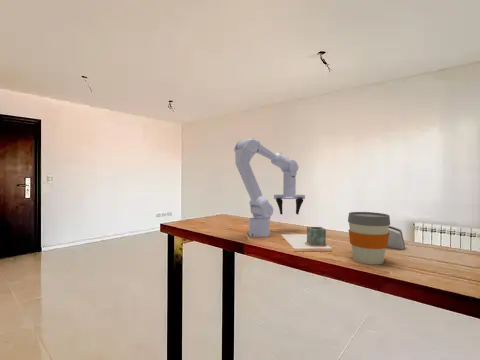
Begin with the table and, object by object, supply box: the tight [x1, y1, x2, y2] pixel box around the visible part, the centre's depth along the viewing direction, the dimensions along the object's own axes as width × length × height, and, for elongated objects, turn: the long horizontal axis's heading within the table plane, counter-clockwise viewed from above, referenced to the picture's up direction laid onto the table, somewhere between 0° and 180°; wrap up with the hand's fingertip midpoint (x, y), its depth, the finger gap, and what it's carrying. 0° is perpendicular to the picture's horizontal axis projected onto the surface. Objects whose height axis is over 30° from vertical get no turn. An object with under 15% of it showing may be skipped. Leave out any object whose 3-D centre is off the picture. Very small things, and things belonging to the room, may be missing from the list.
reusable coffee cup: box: [347, 211, 391, 265], centre depth 88 cm, size 13×13×15 cm
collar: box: [306, 226, 327, 246], centre depth 104 cm, size 6×6×6 cm
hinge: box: [387, 224, 406, 250], centre depth 107 cm, size 17×5×10 cm, turn 51°
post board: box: [280, 233, 333, 253], centre depth 110 cm, size 14×24×6 cm, turn 2°
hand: (289, 214), depth 128 cm, fingers open, 7 cm apart
